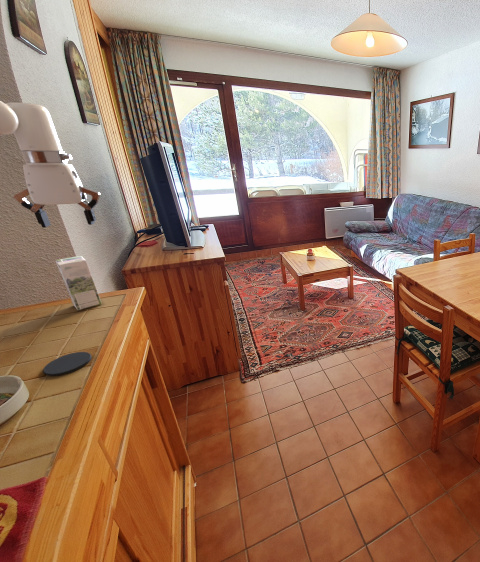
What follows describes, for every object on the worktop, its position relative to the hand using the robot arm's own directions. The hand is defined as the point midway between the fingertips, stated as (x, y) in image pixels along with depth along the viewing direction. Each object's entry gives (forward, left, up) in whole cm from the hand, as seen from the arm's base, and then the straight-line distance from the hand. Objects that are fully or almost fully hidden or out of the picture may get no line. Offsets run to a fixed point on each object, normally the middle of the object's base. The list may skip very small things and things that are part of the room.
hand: (69, 225), depth 85 cm
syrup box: (-2, -1, -24) cm, 24 cm away
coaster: (+4, -34, -24) cm, 42 cm away
